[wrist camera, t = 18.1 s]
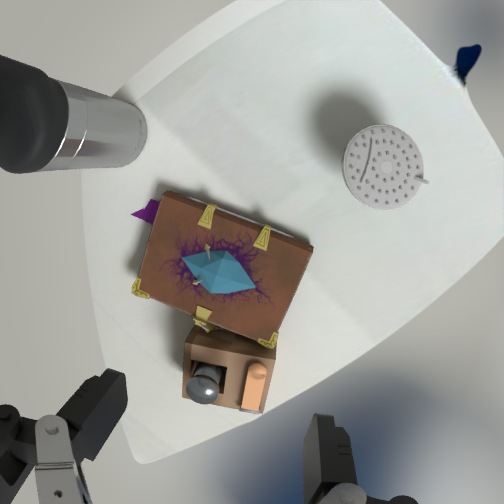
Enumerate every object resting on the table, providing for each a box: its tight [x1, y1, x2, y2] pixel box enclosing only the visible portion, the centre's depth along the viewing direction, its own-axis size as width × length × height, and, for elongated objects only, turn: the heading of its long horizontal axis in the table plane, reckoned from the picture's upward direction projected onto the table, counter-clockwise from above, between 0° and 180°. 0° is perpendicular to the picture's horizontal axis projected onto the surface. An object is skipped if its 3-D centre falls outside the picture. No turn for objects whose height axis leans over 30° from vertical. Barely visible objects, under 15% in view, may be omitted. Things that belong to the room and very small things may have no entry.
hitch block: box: [182, 325, 277, 414], centre depth 43 cm, size 12×10×5 cm
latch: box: [239, 362, 267, 414], centre depth 40 cm, size 3×9×1 cm, turn 172°
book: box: [131, 190, 314, 349], centre depth 41 cm, size 16×25×5 cm, turn 70°
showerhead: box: [342, 124, 429, 211], centre depth 33 cm, size 9×7×10 cm
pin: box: [186, 361, 224, 404], centre depth 42 cm, size 4×4×9 cm
